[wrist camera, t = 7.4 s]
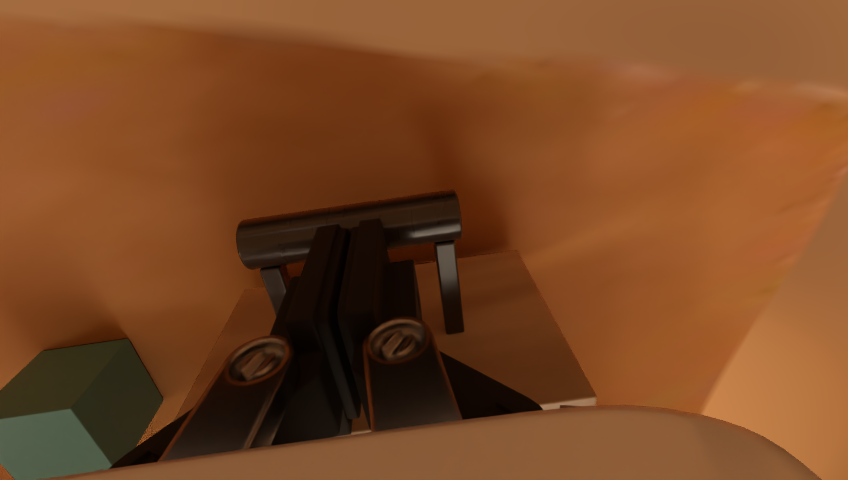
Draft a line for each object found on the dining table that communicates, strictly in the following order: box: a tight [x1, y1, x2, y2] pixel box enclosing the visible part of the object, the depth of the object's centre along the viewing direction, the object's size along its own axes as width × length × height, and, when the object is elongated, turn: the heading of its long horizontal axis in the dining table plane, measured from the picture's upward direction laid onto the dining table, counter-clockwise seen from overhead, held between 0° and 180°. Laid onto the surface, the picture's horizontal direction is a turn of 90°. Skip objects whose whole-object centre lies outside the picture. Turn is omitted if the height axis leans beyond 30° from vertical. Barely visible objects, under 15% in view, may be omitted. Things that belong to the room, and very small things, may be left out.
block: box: [0, 339, 163, 480], centre depth 19 cm, size 4×4×4 cm
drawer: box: [174, 189, 597, 437], centre depth 16 cm, size 18×11×8 cm, turn 7°
